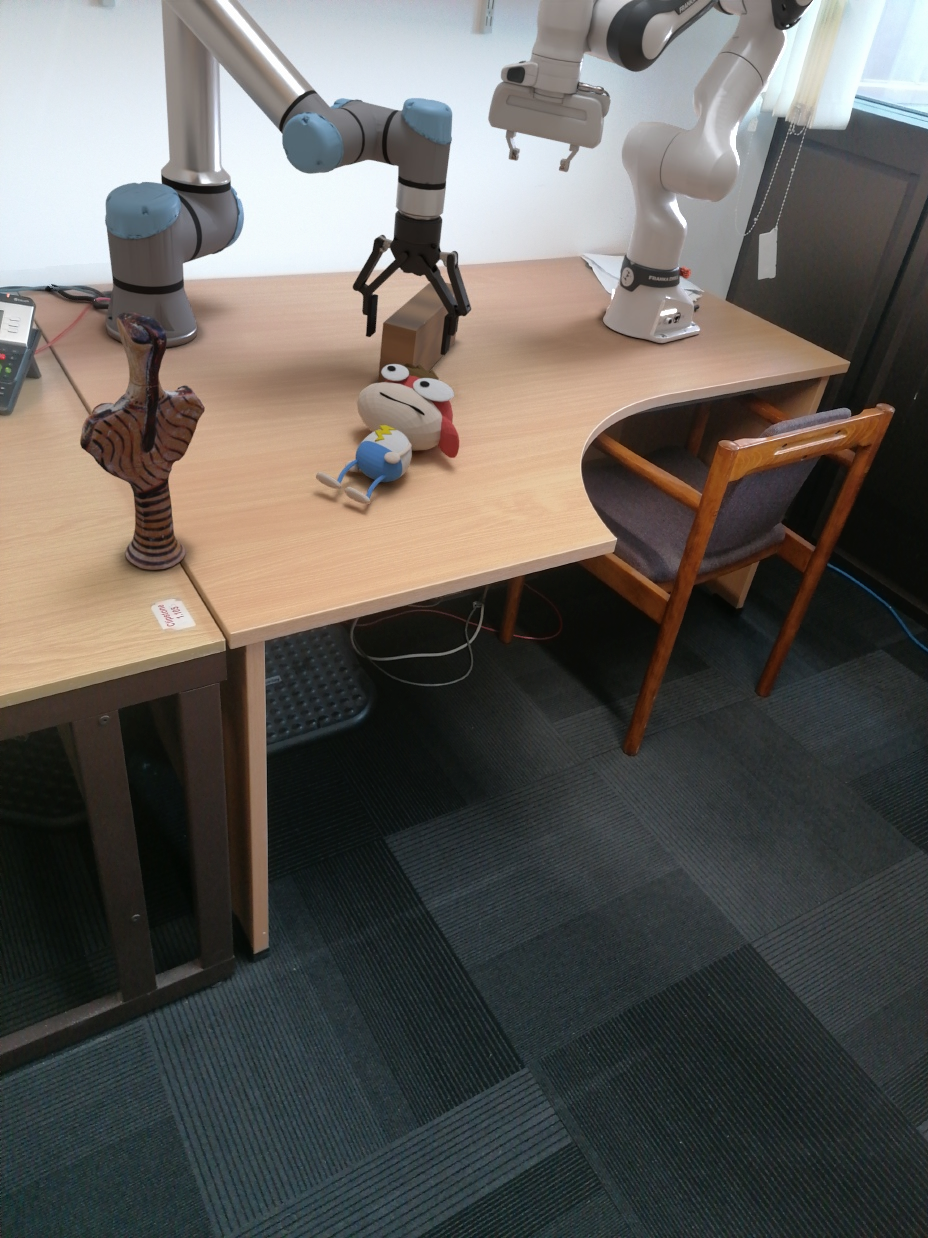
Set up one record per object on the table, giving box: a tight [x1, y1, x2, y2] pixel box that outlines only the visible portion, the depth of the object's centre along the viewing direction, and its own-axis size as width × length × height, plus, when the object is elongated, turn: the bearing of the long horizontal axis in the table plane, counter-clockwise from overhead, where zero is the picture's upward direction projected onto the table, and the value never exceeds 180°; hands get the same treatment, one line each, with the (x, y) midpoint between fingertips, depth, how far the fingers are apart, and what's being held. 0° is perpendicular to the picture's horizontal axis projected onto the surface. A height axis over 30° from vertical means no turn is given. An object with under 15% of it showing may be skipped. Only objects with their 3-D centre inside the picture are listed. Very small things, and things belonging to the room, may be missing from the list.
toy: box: [315, 363, 460, 505], centre depth 132 cm, size 18×10×30 cm
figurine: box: [79, 312, 206, 571], centre depth 99 cm, size 15×8×30 cm, turn 144°
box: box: [377, 281, 457, 383], centre depth 161 cm, size 26×6×11 cm, turn 163°
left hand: (407, 343), depth 153 cm, fingers open, 13 cm apart
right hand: (538, 164), depth 160 cm, fingers open, 8 cm apart
